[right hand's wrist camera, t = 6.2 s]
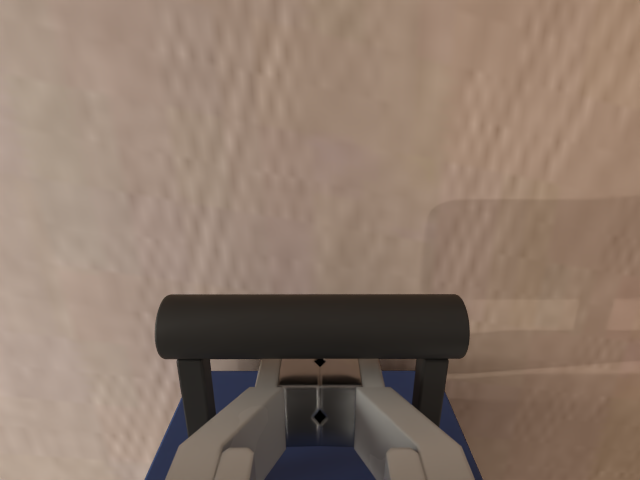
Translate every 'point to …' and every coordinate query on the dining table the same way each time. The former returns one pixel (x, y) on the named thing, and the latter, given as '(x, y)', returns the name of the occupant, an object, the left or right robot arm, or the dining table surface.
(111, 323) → the dining table surface
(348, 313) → the drawer
